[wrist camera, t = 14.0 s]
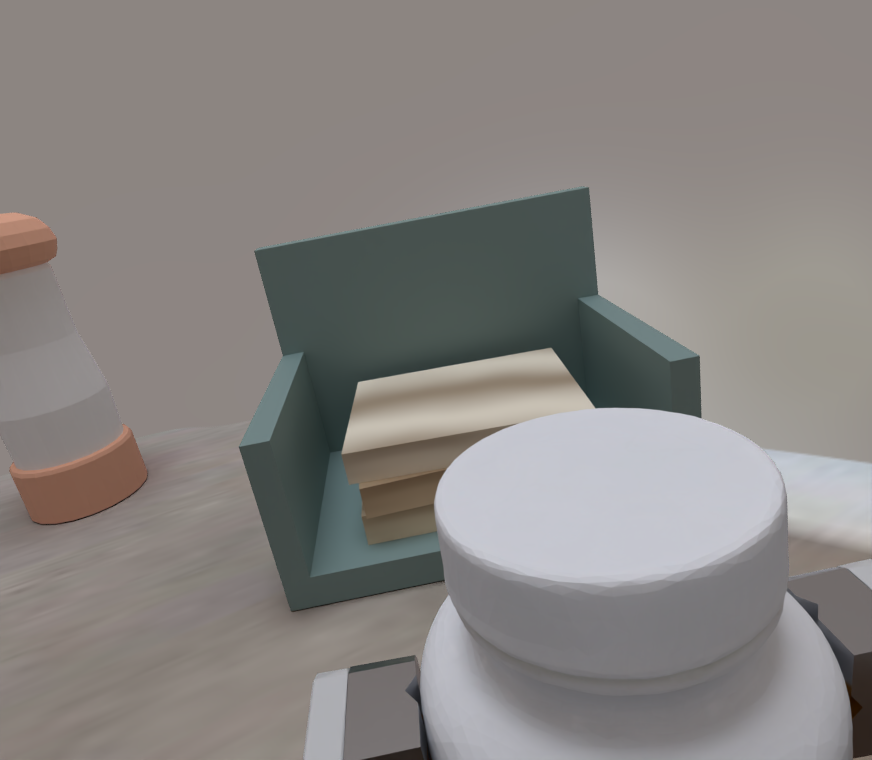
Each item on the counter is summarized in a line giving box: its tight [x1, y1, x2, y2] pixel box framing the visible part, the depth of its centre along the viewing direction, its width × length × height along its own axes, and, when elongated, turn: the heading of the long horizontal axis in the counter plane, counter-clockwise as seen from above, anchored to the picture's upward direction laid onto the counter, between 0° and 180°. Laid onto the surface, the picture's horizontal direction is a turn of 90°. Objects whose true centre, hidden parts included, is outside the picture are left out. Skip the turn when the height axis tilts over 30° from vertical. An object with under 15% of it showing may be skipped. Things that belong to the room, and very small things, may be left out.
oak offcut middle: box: [359, 468, 447, 519], centre depth 31 cm, size 9×11×2 cm
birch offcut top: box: [341, 348, 596, 485], centre depth 31 cm, size 9×11×2 cm
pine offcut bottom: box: [361, 502, 437, 545], centre depth 32 cm, size 9×11×2 cm
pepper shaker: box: [0, 213, 147, 524], centre depth 39 cm, size 7×7×19 cm
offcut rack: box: [239, 187, 701, 611], centre depth 31 cm, size 13×18×14 cm
